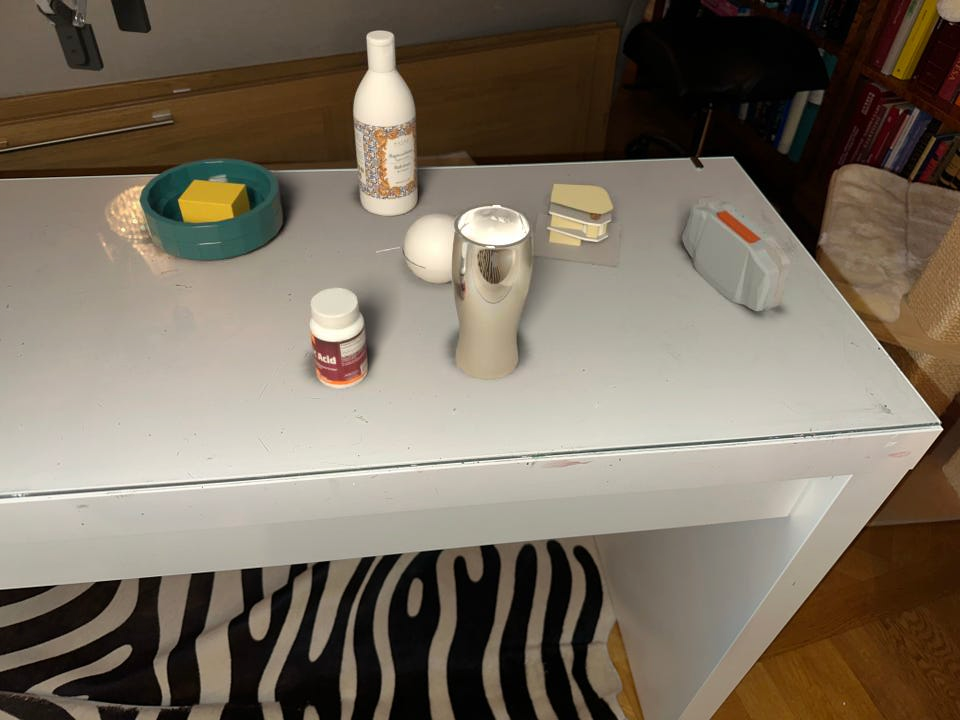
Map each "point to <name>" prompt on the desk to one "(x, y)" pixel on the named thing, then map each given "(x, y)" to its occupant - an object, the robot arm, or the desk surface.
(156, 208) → the bowl
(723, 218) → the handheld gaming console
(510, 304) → the beer glass
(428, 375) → the desk surface
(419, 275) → the lollipop
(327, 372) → the pill bottle
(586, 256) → the stacked layers on plate
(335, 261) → the desk surface
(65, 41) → the robot arm
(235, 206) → the sponge
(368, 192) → the bath foam
